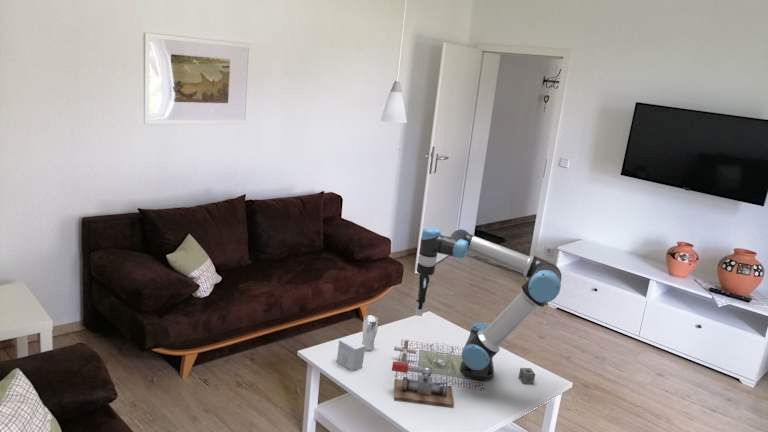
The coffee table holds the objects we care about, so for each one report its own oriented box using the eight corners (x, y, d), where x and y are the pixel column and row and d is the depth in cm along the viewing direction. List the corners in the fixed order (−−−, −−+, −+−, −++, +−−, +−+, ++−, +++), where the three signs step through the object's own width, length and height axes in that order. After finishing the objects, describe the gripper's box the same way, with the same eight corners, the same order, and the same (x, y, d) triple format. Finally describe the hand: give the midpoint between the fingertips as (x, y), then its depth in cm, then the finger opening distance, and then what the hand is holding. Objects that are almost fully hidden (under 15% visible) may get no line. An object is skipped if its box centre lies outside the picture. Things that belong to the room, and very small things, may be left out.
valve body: (444, 391, 256) (447, 374, 254) (445, 398, 251) (448, 381, 249) (401, 386, 256) (404, 368, 254) (401, 393, 251) (404, 375, 249)
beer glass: (360, 343, 290) (364, 314, 286) (375, 345, 290) (379, 316, 286) (359, 350, 283) (363, 320, 279) (374, 352, 283) (378, 322, 279)
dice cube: (522, 383, 272) (524, 373, 271) (518, 377, 277) (520, 368, 276) (533, 384, 273) (535, 374, 272) (528, 377, 278) (530, 368, 277)
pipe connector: (415, 356, 284) (418, 336, 281) (413, 367, 275) (417, 346, 272) (393, 352, 285) (396, 333, 282) (391, 363, 275) (394, 343, 273)
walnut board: (450, 388, 260) (451, 385, 260) (453, 407, 247) (453, 404, 247) (394, 381, 260) (394, 378, 260) (394, 400, 247) (394, 396, 246)
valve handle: (392, 367, 254) (393, 360, 253) (430, 372, 253) (431, 366, 252) (391, 371, 250) (392, 364, 249) (430, 377, 249) (431, 370, 249)
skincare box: (363, 367, 269) (365, 345, 266) (352, 371, 264) (355, 349, 261) (346, 357, 276) (349, 336, 273) (336, 361, 271) (338, 339, 268)
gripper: (417, 257, 265) (409, 307, 271) (418, 268, 252) (410, 320, 259) (434, 259, 265) (426, 309, 271) (436, 270, 252) (428, 322, 259)
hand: (418, 315), depth 265 cm, fingers closed
